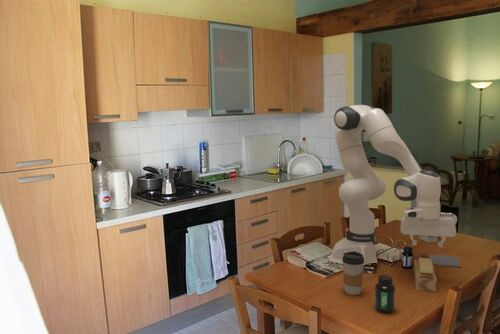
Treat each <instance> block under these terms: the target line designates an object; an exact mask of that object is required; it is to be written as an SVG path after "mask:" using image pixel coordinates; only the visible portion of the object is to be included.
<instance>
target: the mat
mask: <svg viewBox="0 0 500 334" xmlns="http://www.w3.org/2000/svg"><path fill="white" fill-rule="evenodd" d="M428 259H431V261H432V264H433V266H436V267H437V266H439V267H449V268H460V269H461V268H462V267H461V263H460V261H459V258H458V256H455V255H454V256H453V255H439V254H431V253H430V254H428Z"/></svg>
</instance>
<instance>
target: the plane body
mask: <svg viewBox="0 0 500 334" xmlns="http://www.w3.org/2000/svg"><path fill="white" fill-rule="evenodd" d="M419 258H427V259H429V254H425V253H419ZM413 261H414V262H413V274H414V281H415V282H414V283H415V288H416V291H421V292H432V293H437V277H436V273H435V268H434V265H433V264H432V266H433V273H432V277H430V276H420V273H419V259H417V258H415V259H414V260H413ZM431 262H432V261H431Z"/></svg>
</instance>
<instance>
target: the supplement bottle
mask: <svg viewBox="0 0 500 334" xmlns="http://www.w3.org/2000/svg"><path fill="white" fill-rule="evenodd" d="M374 309H375V310H376V311H377V312H379V313H382V314H392V313H394V311H395V310H396V286H395V285H394V281H393V276H391V275H389V274H380V275H378V278H377V283H376V284H375V286H374Z"/></svg>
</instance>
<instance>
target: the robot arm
mask: <svg viewBox="0 0 500 334" xmlns="http://www.w3.org/2000/svg"><path fill="white" fill-rule="evenodd" d="M333 121H334V125H335V126H336V127H337V128H338V129H337V130H336V132H335V139H336V145H337V146H336V147H337V151H338V154H339V157H340V160H341V161H340V162H341V164H342V168H343V169H344V170H345V171H347V172H348V173H350V174H351V176H352V178H353V179H352V178H351V179H349V180H347V181H345V182H344V183H341V184H340V186H339V187H338V196H339V198H340V200H341V202H343V203H344V204H345V205H346V207H347V210H348V215H349V228H348V227H346V228H345V229H344V237H343V238H342V239H340V240H339V241H337V242H336V243H335V244H334V246H333V249H332V251H333V253H332V255H330V256H328V255H327V261H328V260H329V261H328V262H329V263H331V262H332V263H331V264H336V263H338V264H337V265H342V264H343V261H342V259H343V256H344V253H346V252H358V253H361V254H362V255H363V257H364V265H365V264H369V263H376V264H377V263H378V258H377V252H376V245H375V244H376V241H377V240H376V239H377V236H376V234H377V233H376V230H375V223H376V222H375V217H376V215H375V214H374V212H373V211H372V210H370V207H369V202H370V201H373V200H376V199H378V198H380V197H382V196H383V195H384V194H385V192H386V189H387V185H386V182H385V180H384V179H383V178H382V177H380V176H379V175H378V174H377V173H376V172H375V171H374V170H373V168H372V167H371V165H370V163H369V161H368V158H367V156H366V152H365V149H364V146H363V143H362V140H361V139H362V138H361V133H366V134H367V137H368V139H369V141H370V143H371V146H372V147H373V148H374V150H376V152H378V153H380V154H383V155H387V156H390V157H392V158H394V159H396V160H397V161H398V162H399V163H400V164H401V166H402V168H403V170H404V171H405V173H406V174H407V176H406V177H402V178H399V179H397V180H396V181H395V182H394V184H393V193H394V195H395V197H396V198H397V199H398V200H399V201H403V202H411V201H412V202H413V201H415V206H412V207H407V208H405V209H404V211H403V214H404V215H403V216H402V217H401V221H400V233H401V234H402V235H405V236H406V235H409V238H410V240H411V241H412V246H417V242H418V241H417V240H416V239H414V236H417V235H424V236H438V237H441V240H440V241H437V247H438V248H443V246H444V245H443V244H444V243H445V241H446V239H447V237H448V238H455V236H456V235H457V226H456V224H457V223H458V222H457V221H458V217H457V215H456V214H454V213H453V212H441V201H440V197H441V195H442V187H441V184H442V183H441V178H440V175H439V174H438V173H437V172H436V171H432V170H426V169H423V168H422V166H421V165H420V163H419V162H418V160H417V158H416V156H415V155H414V154H413V152H412V150H411V149H410V147H409V146H408V145H407V144H406V142H404V141H403V140H402V137H400V135H399V134H398V133H397V131H396V129H395V127H394V126H393V123H392V121H391V120H390V118H389V117H388V115H387V114H386V113H385V111H384V110H383V109H381V108H377V107H374V106H372V105H370V104H354V105H350V106H349V105H348V106H347V105H346V106H342V107H340V108H337V110H336V111H335V113H334V116H333Z"/></svg>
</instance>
